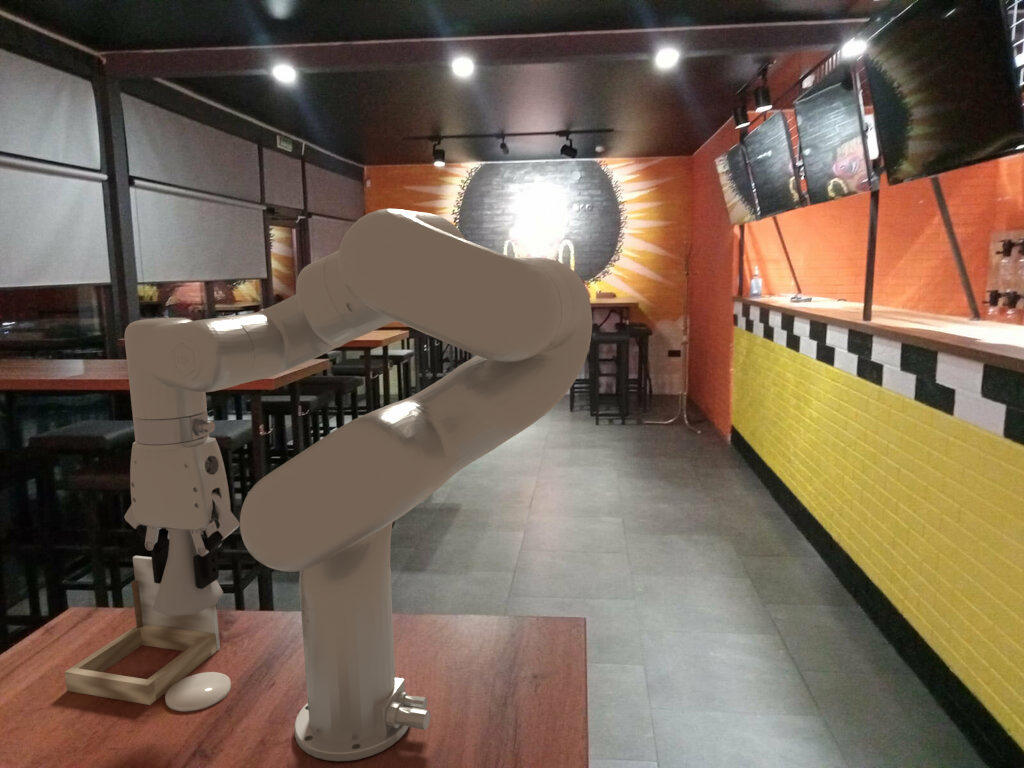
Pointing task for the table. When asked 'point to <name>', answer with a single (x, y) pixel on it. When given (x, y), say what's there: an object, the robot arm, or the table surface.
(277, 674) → the table surface
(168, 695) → the white domed disc
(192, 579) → the flask
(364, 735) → the robot arm
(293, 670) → the table surface
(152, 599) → the open-lid wooden box
